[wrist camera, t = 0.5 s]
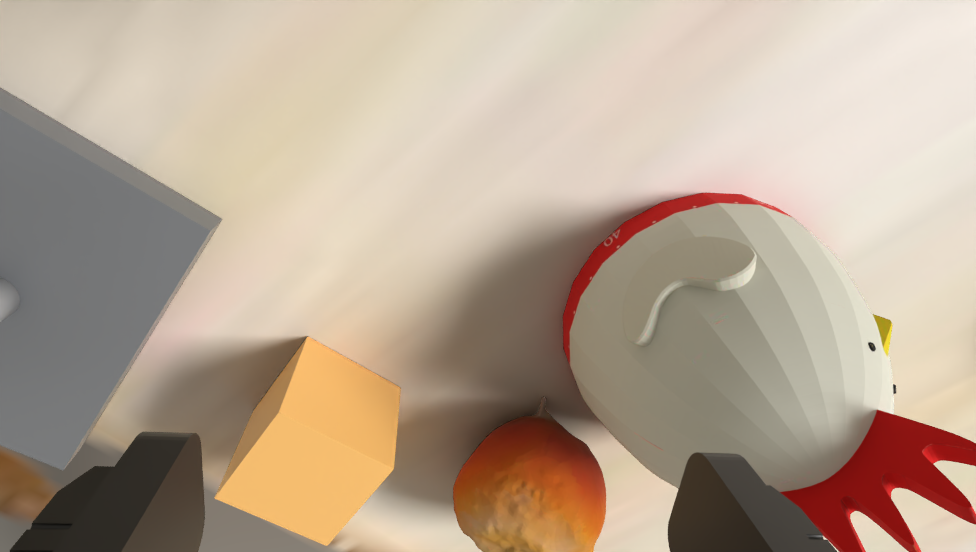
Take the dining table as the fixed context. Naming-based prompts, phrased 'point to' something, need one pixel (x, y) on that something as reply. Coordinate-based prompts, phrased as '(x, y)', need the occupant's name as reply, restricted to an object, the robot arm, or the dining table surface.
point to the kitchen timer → (752, 363)
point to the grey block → (78, 277)
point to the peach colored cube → (315, 445)
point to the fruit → (531, 489)
